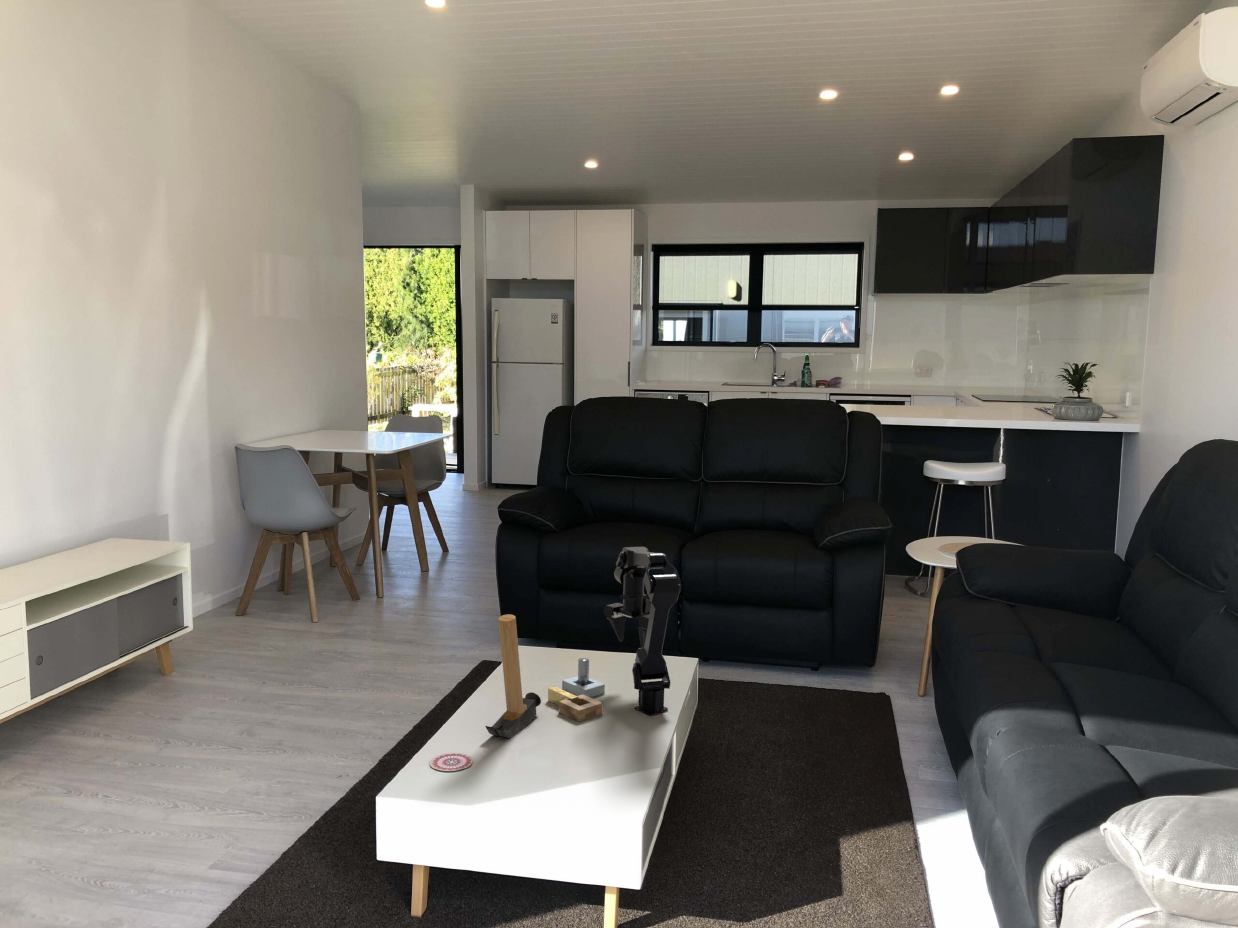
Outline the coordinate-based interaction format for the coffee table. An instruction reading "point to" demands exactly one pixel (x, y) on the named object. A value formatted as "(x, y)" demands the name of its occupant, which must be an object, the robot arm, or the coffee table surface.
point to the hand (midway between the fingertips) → (632, 645)
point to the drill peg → (583, 671)
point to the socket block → (581, 708)
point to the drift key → (560, 695)
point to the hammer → (513, 685)
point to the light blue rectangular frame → (583, 687)
